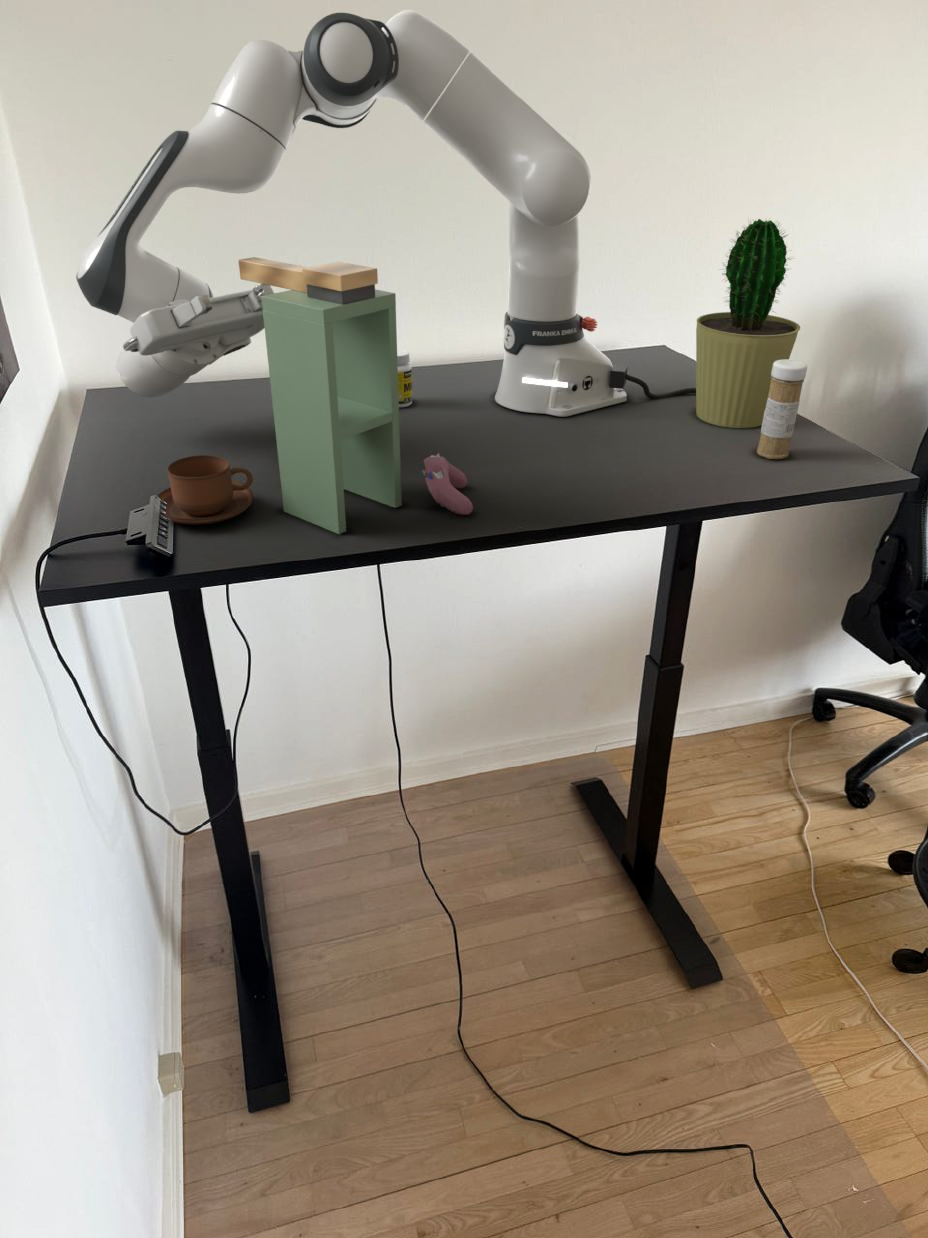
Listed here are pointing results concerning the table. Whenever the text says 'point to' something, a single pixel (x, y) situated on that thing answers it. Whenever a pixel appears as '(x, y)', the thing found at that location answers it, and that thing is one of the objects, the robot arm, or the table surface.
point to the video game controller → (446, 485)
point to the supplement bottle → (404, 378)
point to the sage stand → (334, 402)
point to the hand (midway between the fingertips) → (237, 295)
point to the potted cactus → (744, 333)
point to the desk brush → (314, 279)
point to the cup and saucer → (205, 490)
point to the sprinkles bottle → (781, 408)
